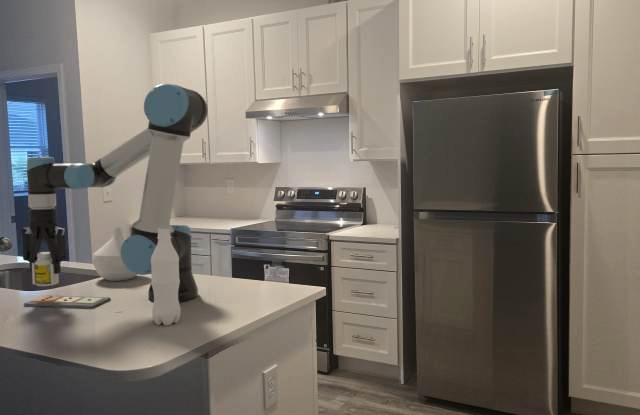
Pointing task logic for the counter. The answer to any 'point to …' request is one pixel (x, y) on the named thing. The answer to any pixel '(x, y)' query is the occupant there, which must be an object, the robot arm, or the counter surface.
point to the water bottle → (165, 280)
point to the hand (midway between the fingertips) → (45, 283)
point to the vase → (112, 259)
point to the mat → (68, 301)
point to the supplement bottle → (43, 269)
